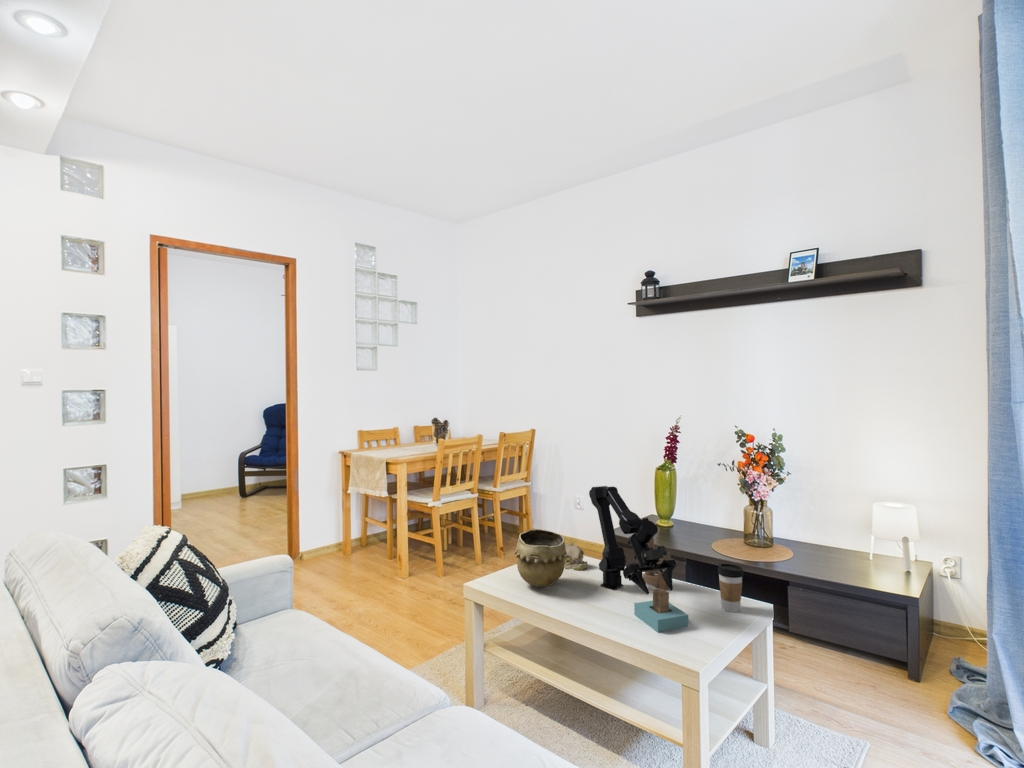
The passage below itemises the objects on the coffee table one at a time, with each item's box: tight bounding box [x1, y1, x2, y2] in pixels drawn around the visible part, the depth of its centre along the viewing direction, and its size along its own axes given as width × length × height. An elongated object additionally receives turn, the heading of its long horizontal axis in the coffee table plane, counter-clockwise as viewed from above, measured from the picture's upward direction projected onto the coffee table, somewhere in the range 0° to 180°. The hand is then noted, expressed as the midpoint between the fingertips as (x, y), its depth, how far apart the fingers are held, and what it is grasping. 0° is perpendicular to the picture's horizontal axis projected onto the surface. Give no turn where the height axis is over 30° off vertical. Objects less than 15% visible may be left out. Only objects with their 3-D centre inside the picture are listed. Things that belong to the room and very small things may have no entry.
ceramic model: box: [564, 542, 588, 571], centre depth 239 cm, size 14×11×10 cm
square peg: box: [652, 588, 670, 614], centre depth 183 cm, size 4×4×10 cm
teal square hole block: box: [633, 599, 689, 633], centre depth 183 cm, size 14×12×4 cm
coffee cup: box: [717, 563, 744, 613], centre depth 192 cm, size 8×8×15 cm
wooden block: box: [642, 537, 672, 591], centre depth 215 cm, size 4×11×18 cm, turn 39°
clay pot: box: [513, 528, 567, 588], centre depth 216 cm, size 21×21×20 cm
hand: (660, 592), depth 183 cm, fingers open, 9 cm apart
